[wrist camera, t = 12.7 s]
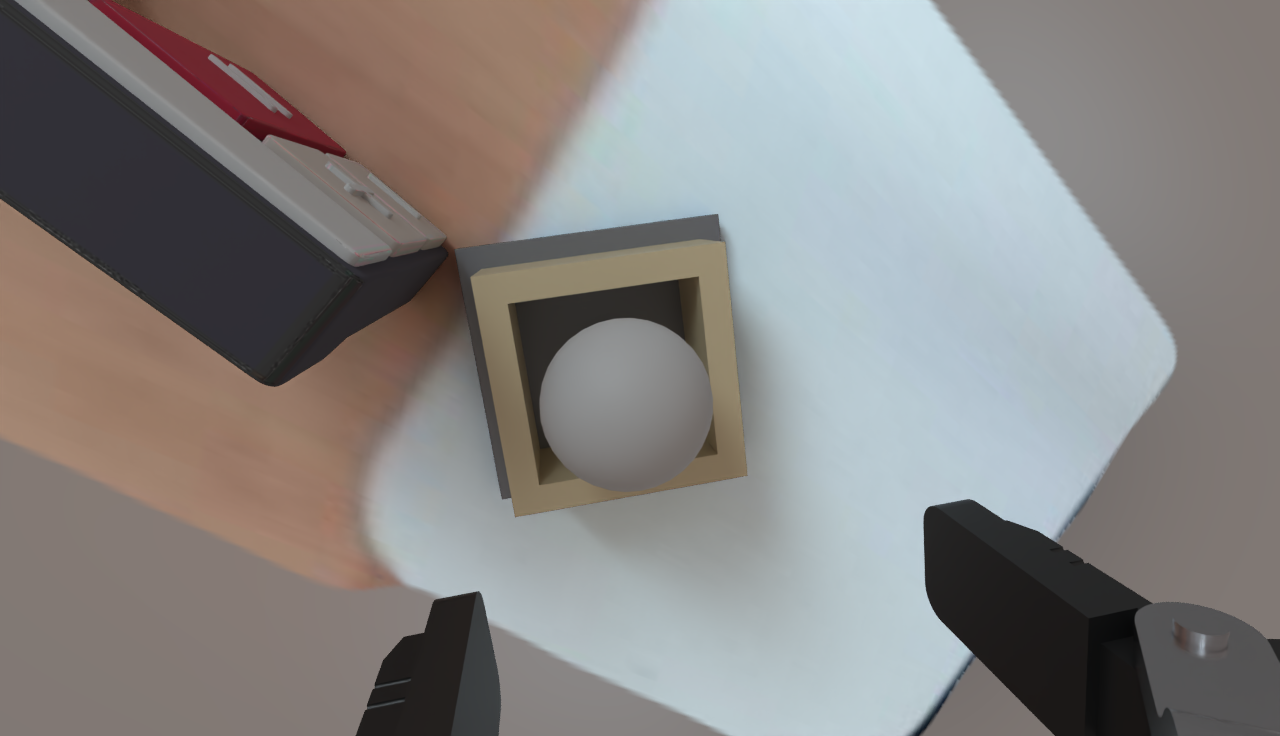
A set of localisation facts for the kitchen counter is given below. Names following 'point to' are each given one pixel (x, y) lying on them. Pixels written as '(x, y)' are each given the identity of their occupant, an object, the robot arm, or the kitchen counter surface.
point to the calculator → (199, 187)
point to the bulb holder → (576, 299)
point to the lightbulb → (626, 404)
